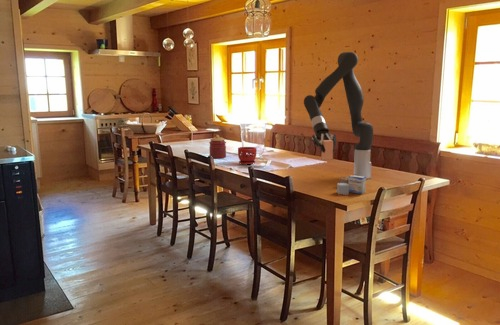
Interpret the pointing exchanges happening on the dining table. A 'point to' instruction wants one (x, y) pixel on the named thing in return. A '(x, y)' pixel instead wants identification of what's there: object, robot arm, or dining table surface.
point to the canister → (217, 147)
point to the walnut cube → (344, 180)
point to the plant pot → (247, 155)
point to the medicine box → (357, 184)
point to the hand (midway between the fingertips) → (328, 151)
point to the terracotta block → (328, 150)
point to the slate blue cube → (343, 188)
